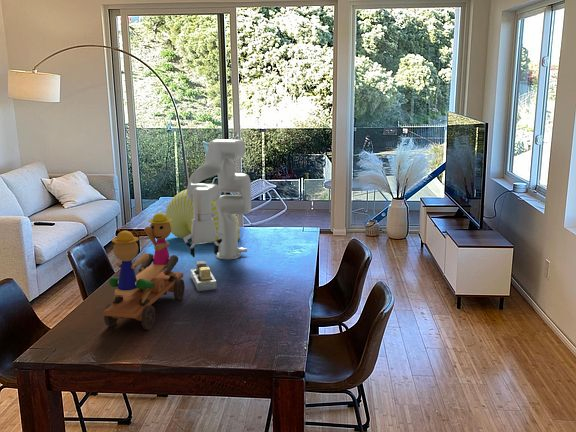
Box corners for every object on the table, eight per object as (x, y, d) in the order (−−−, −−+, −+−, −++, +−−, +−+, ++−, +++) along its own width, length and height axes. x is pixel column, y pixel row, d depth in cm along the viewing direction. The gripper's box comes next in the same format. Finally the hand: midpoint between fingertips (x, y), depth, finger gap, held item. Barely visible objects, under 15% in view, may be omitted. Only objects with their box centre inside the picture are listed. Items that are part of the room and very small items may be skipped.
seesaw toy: (141, 337, 197) (135, 237, 190) (99, 334, 200) (92, 235, 192) (188, 292, 241) (184, 209, 233) (153, 290, 243) (148, 207, 236)
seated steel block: (205, 277, 259) (204, 260, 257) (206, 280, 255) (206, 263, 254) (196, 278, 258) (195, 261, 256) (197, 281, 254) (197, 264, 252)
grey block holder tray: (208, 275, 263) (208, 267, 262) (216, 288, 245) (216, 281, 244) (191, 277, 260) (190, 269, 259) (197, 290, 242) (197, 283, 242)
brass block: (209, 284, 251) (208, 266, 249) (210, 287, 247) (210, 269, 245) (200, 285, 250) (199, 267, 248) (201, 288, 246) (200, 270, 244)
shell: (228, 260, 308) (240, 248, 337) (242, 205, 302) (254, 197, 331) (152, 237, 312) (170, 227, 342) (164, 182, 306) (182, 176, 335)
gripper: (221, 212, 248) (222, 250, 252) (181, 216, 243) (183, 254, 247) (225, 217, 241) (226, 255, 245) (183, 220, 236) (185, 260, 240)
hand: (204, 255), depth 246 cm, fingers open, 9 cm apart
